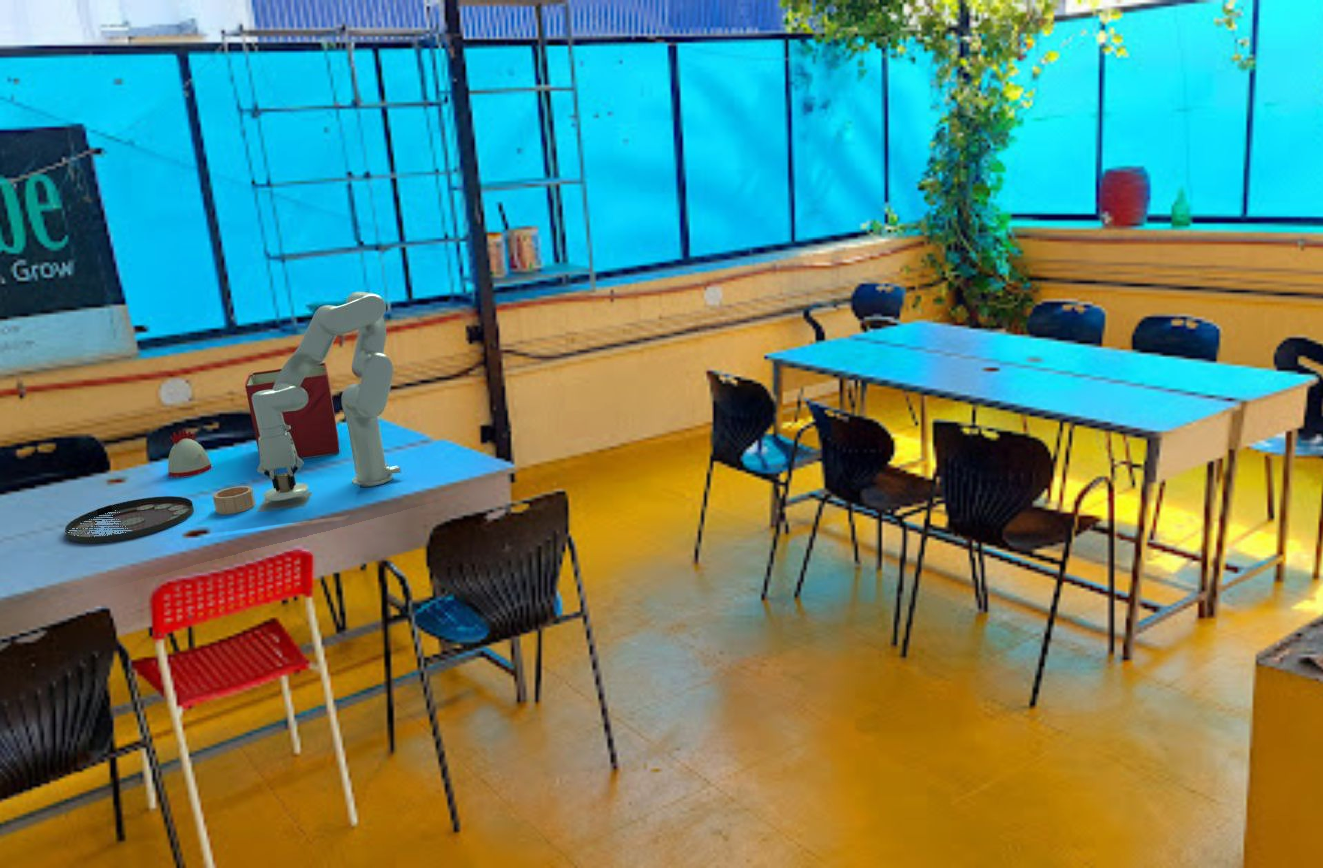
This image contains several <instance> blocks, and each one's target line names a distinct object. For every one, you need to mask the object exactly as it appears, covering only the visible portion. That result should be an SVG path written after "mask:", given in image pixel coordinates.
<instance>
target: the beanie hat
mask: <svg viewBox="0 0 1323 868" xmlns="http://www.w3.org/2000/svg"><path fill="white" fill-rule="evenodd" d="M182 433H183V434H182ZM195 437H196V433H195V432H194V433H193V434H192V436H191V431H190V430H189V431H188V432H187V431H186V429H183V430H182V431H181V430H178V434H177V433H176V432H175V431H174V432H173V437H172V436H169V439H171V441H172V442H173V443H174V445H173V446H172V448H171V449H170V452H169V455H168V459H167V461H168V462H167V471H168V475H169V477H171V478H185V477H192V476H196V475H200V474H203V473H206V472H208V471H209V470H212V463H211V459H210V457H209V456H208V454H207V452H206V450H205V448H204V447H203V446H202V445H201V444H199V442H198V441H196V440H195Z"/></svg>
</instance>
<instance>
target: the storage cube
mask: <svg viewBox="0 0 1323 868" xmlns="http://www.w3.org/2000/svg"><path fill="white" fill-rule="evenodd" d="M281 370H282V368H277V369H271V370H263V371H255V372H250V373H248V376H247V379H246V381H245V383H244V388H245V392H246V396H247V397H246V398H247V401H248V407H249V410H250V411H249V412H250V416H251V417H250V418H251V422H252V426H253V432H254V437H255V441H256V446H257V447H256V448H257V452H258V453H259V444H258V439H259V437H260V434H259V429H258V425H257V420H256V416H255V411H254V407H253V403H252V395H253V394H254V393H256V392H259V391H263V390H272V389H273V386H274V384H275V382H276V380H277V377H278V375H279V373H280V371H281ZM300 387H302V388H303V389H304V390H305V391H306V392H307V394H308V402H307V404H306V405H305V406H304V407H303V408H302V409H299V410H296V411H286V412H282V414H283V419H284V423H285V424H286V425H290V427H291V429H289V430H287V431H286V432H289V433H290V435H291V437H292V440H293V442H294V446H295V449H296V452H297V456H298V457H299V458H300V459H301V460H302V459H308V458H314V457H322V456H323V457H324V456H329V455H336V454H339V453H340V443H339V440H340V438H339V431H338V427H337V420H336V415H335V408H334V402H333V397H332V396H333V395H332V389H331V384H330V378H329V373H328V367H327V363H326V362H322V363H321V364H320V365H318V366H316V367H315V368H313V369H312V370H311V371H310V372H309V373H308V374H307V375H306V376H305V378H304V379H303V381H302V383H301V385H300ZM258 456H259V457H258V458H259V459H260V455H259V454H258ZM259 462H261V461H260V460H259Z"/></svg>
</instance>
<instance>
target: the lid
mask: <svg viewBox="0 0 1323 868" xmlns="http://www.w3.org/2000/svg"><path fill="white" fill-rule="evenodd" d="M276 477H277V482H278V486H279V491H278V492H276V488H275V489H274V487H273V488H270V489H269V490H267V491H265V492H264V493H263V498H264V500H269V501H279V500H286V499H290V498H294V497H297V496H300V495H302V494H304V493H307V492H308V491H309V485H308V484H306V483H301V482H300V483H298V482H296V485H295V487H294V488H293V489H290V485H289V480H288V477H289V474H288V472H283V473H279V474H276Z"/></svg>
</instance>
